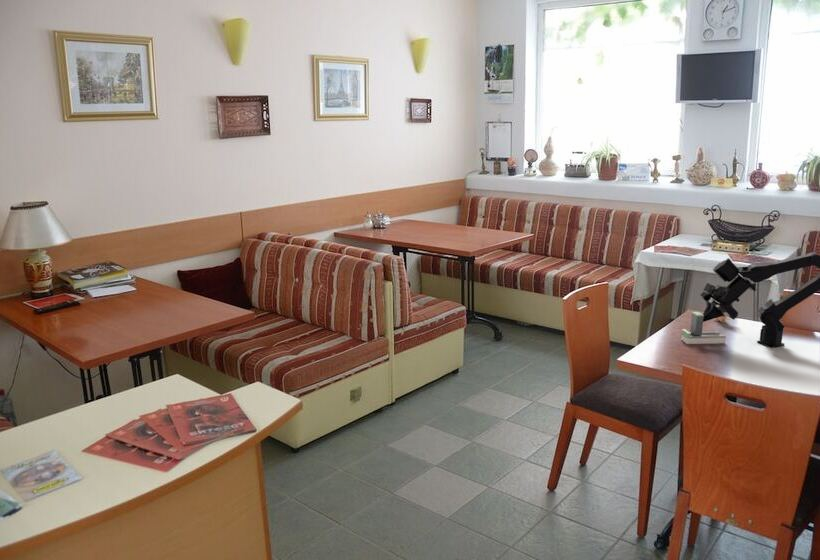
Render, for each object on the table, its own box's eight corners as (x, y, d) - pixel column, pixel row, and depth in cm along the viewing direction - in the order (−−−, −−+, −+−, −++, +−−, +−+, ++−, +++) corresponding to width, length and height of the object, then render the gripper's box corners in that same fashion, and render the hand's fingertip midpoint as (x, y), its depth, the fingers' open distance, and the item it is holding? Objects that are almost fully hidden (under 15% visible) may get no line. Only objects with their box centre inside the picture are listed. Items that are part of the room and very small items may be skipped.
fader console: (718, 338, 255) (719, 328, 254) (724, 343, 250) (725, 332, 250) (680, 339, 255) (681, 329, 254) (686, 343, 250) (687, 333, 249)
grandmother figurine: (710, 321, 276) (714, 290, 273) (710, 318, 280) (713, 288, 277) (731, 323, 274) (735, 292, 271) (731, 320, 277) (735, 290, 274)
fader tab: (697, 333, 254) (699, 311, 252) (702, 337, 250) (704, 314, 248) (689, 333, 254) (691, 311, 252) (694, 337, 250) (696, 315, 248)
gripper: (707, 270, 256) (675, 299, 258) (732, 282, 238) (698, 313, 240) (726, 290, 258) (694, 319, 260) (752, 303, 240) (718, 334, 242)
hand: (700, 321), depth 251 cm, fingers closed, pressing on fader tab
